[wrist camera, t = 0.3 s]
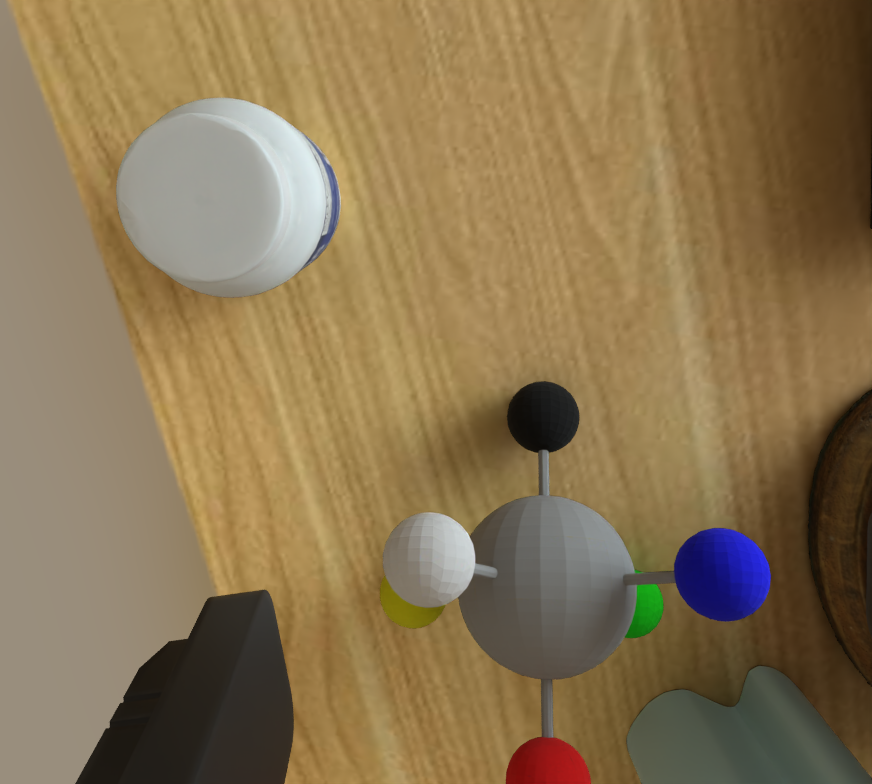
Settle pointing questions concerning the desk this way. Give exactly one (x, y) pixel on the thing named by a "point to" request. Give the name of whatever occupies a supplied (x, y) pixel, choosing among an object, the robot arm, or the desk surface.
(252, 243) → the pill bottle
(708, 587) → the molecular model
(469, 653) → the desk surface
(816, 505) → the owl figurine
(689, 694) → the squiggly pen holder
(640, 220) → the desk surface
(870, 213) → the bin
